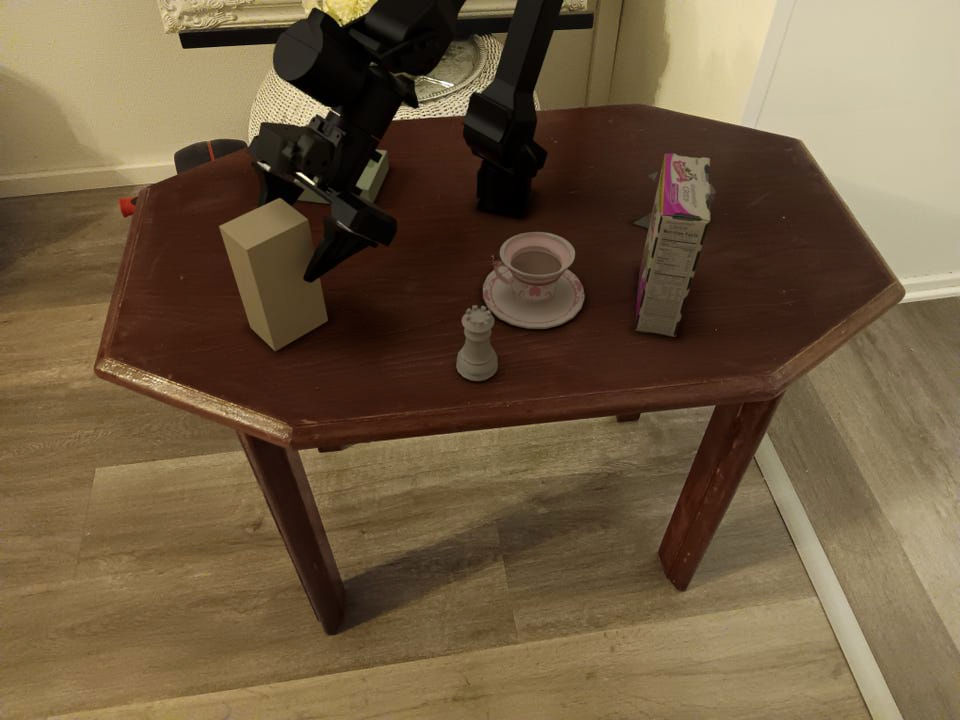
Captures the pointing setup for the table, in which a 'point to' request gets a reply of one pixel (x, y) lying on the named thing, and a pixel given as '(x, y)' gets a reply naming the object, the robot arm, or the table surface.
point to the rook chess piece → (477, 346)
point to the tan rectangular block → (275, 272)
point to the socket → (367, 181)
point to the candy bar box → (673, 243)
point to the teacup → (534, 282)
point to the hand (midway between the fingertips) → (281, 259)
